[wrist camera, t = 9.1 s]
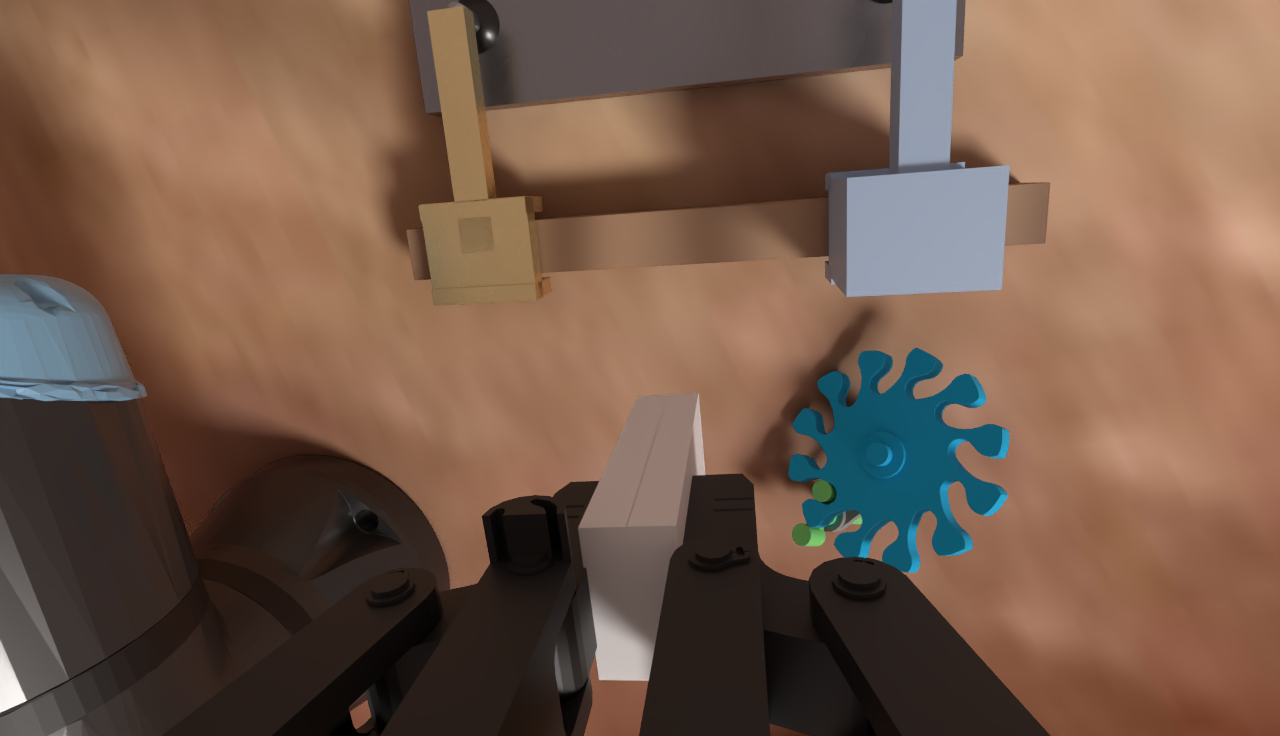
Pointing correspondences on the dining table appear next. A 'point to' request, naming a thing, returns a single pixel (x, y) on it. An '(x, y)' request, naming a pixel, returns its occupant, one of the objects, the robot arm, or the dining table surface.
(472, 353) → the dining table surface
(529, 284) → the fixed leg
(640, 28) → the hole plate
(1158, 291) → the dining table surface
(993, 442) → the gear
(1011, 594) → the dining table surface
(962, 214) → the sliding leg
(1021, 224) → the beam
